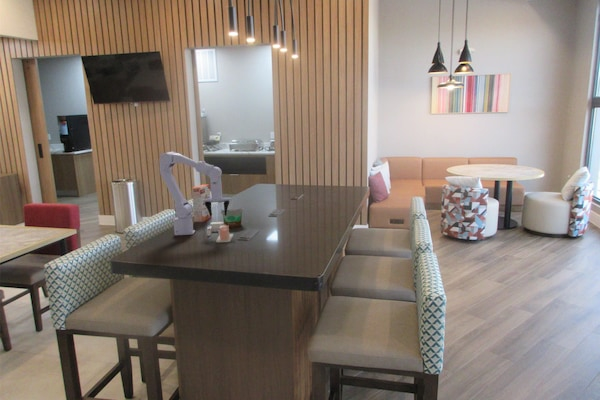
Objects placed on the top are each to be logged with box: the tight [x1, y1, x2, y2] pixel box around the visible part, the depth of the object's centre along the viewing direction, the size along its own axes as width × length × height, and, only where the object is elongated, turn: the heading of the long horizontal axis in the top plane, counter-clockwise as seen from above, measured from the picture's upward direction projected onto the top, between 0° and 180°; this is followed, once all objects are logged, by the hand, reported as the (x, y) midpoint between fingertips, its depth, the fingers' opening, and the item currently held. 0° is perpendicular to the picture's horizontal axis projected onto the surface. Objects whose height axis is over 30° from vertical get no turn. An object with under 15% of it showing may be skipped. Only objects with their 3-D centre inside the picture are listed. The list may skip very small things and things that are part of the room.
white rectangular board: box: [215, 233, 234, 243], centre depth 216 cm, size 7×13×1 cm, turn 2°
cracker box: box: [191, 183, 213, 223], centre depth 258 cm, size 14×6×21 cm, turn 168°
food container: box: [220, 207, 244, 229], centre depth 239 cm, size 12×6×10 cm, turn 105°
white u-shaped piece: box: [206, 221, 224, 237], centre depth 229 cm, size 7×13×4 cm, turn 2°
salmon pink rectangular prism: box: [220, 225, 230, 240], centre depth 216 cm, size 3×10×5 cm, turn 2°
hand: (218, 215), depth 226 cm, fingers open, 7 cm apart
